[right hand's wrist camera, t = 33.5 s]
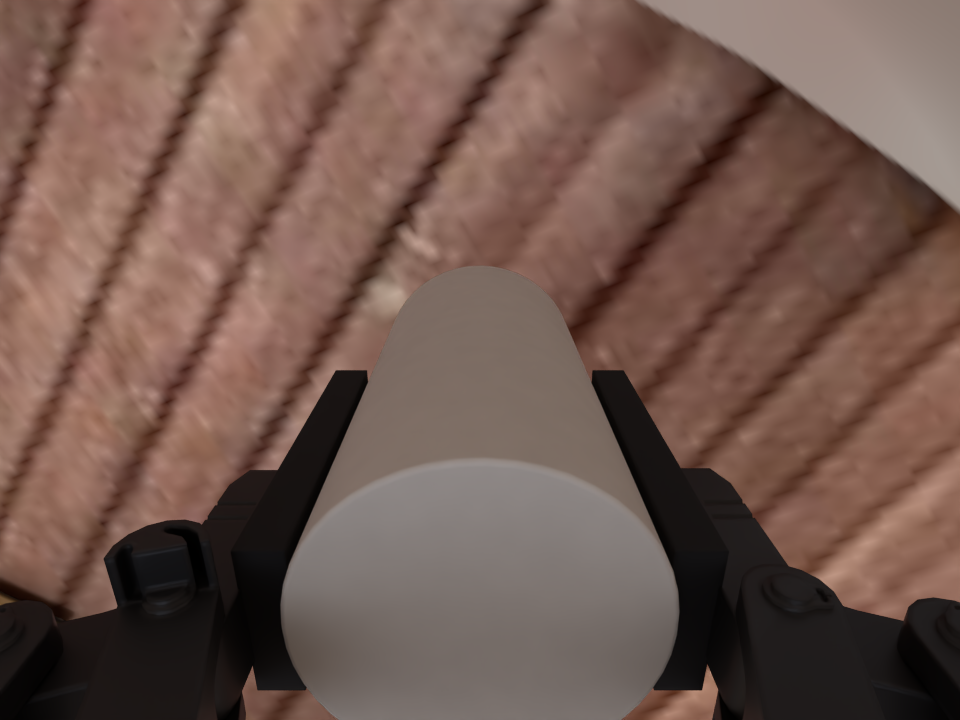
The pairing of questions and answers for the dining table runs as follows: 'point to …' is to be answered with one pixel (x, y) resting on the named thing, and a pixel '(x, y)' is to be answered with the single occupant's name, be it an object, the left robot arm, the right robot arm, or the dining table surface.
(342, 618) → the can
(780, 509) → the dining table surface
